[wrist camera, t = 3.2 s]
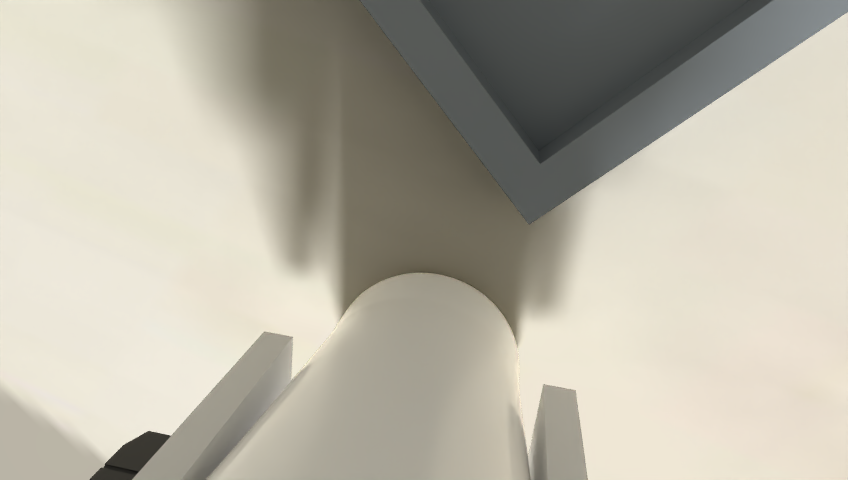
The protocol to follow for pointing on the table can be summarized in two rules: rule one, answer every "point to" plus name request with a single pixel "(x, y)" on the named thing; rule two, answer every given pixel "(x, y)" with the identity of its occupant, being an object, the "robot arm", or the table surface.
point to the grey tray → (584, 75)
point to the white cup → (398, 395)
